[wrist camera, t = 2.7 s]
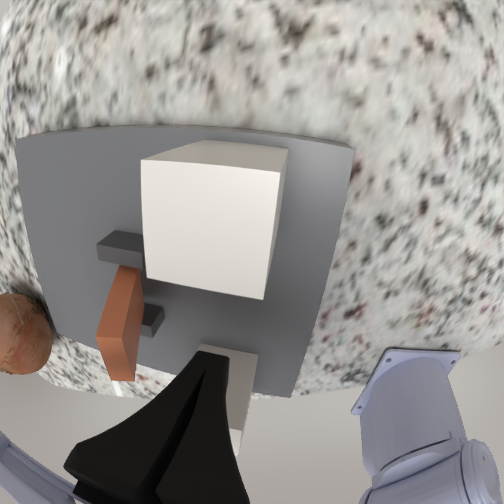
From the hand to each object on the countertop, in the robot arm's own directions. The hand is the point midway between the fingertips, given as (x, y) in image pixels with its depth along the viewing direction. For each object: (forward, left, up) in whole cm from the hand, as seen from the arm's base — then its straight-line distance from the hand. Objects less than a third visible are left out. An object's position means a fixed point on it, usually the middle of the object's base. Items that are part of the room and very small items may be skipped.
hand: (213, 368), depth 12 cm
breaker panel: (0, +6, -8) cm, 11 cm away
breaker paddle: (0, +6, -4) cm, 8 cm away
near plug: (+6, 0, -6) cm, 9 cm away
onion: (-11, +24, -9) cm, 28 cm away
